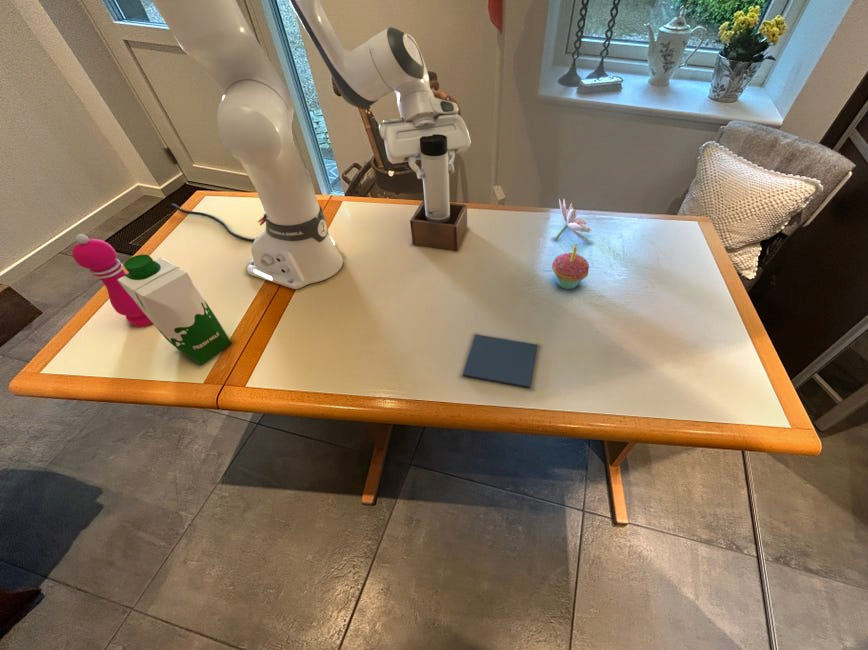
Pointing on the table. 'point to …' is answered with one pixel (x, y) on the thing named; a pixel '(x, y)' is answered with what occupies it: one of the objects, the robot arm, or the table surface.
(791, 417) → the table surface
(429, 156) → the travel mug
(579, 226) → the water lily
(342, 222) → the table surface
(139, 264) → the milk carton
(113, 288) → the pepper mill
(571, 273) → the cupcake
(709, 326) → the table surface
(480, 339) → the mat
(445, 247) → the cubby
